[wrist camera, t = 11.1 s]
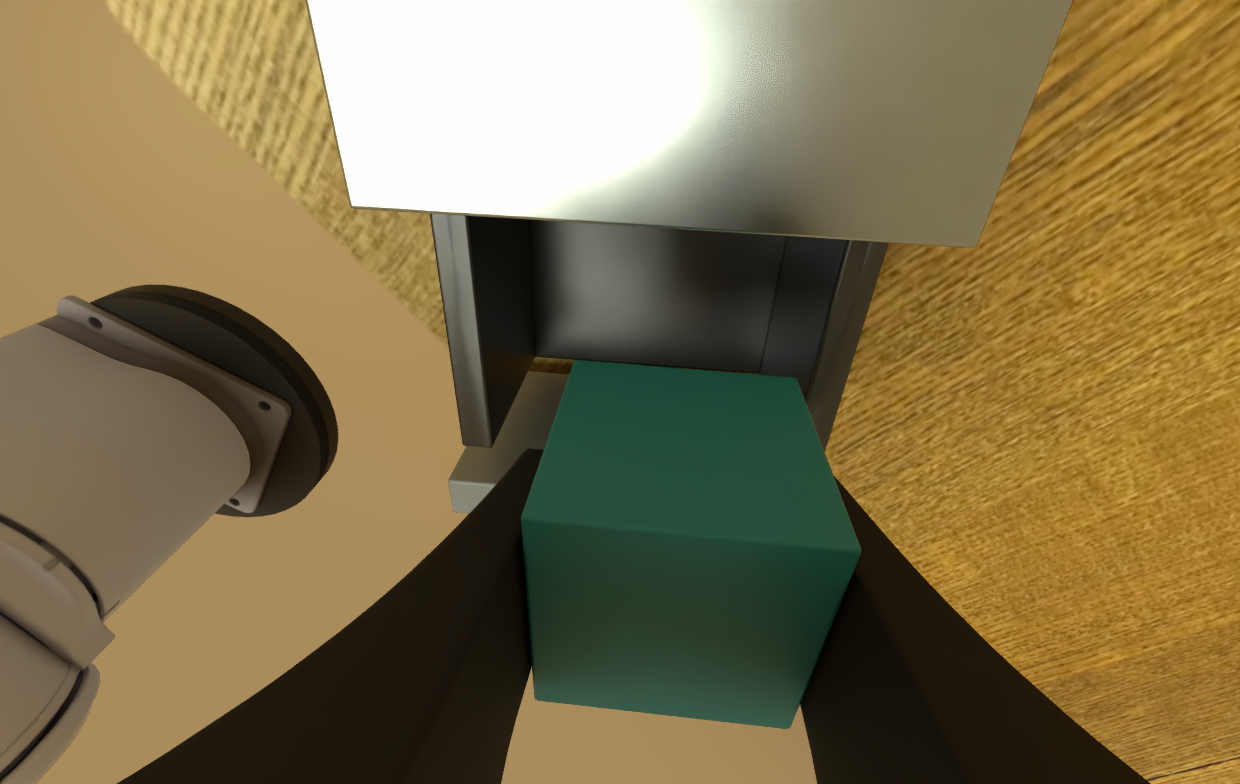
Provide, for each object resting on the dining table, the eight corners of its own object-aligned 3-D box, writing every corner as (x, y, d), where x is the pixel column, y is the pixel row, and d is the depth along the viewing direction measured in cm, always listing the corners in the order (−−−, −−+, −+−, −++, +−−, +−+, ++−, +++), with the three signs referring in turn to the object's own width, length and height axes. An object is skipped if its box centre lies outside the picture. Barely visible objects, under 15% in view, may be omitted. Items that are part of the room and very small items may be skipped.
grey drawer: (759, 502, 22) (787, 639, 17) (516, 480, 22) (468, 607, 17) (879, 2, 13) (1013, -34, 8) (476, -14, 14) (356, -60, 8)
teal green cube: (574, 518, 12) (533, 701, 8) (573, 357, 10) (519, 517, 6) (757, 536, 12) (790, 731, 8) (797, 376, 10) (864, 551, 6)
